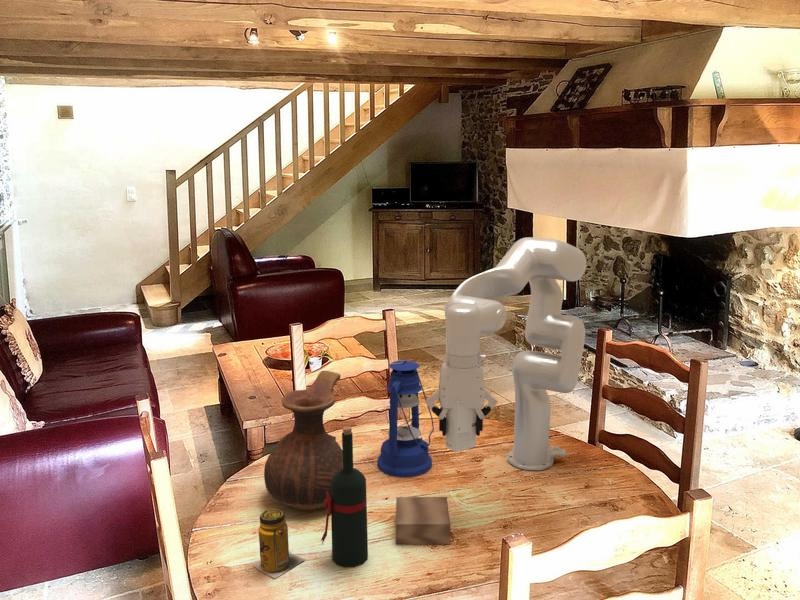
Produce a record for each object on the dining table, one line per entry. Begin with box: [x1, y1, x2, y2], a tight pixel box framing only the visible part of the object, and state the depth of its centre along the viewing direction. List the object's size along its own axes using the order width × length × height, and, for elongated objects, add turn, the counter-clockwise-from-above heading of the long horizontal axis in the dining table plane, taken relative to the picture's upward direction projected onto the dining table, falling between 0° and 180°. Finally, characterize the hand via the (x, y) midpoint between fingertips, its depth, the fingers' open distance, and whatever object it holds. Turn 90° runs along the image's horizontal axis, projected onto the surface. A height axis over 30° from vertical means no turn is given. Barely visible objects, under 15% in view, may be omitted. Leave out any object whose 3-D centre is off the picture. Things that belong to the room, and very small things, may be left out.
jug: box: [263, 370, 343, 511], centre depth 176 cm, size 22×22×30 cm
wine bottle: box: [320, 425, 369, 568], centre depth 151 cm, size 8×10×30 cm
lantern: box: [376, 359, 435, 478], centre depth 194 cm, size 17×15×30 cm
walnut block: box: [395, 496, 451, 545], centre depth 165 cm, size 12×12×5 cm
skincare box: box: [444, 400, 477, 453], centre depth 163 cm, size 6×4×12 cm
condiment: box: [252, 508, 306, 579], centre depth 151 cm, size 7×8×12 cm
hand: (460, 433), depth 164 cm, fingers closed on skincare box, 7 cm apart
